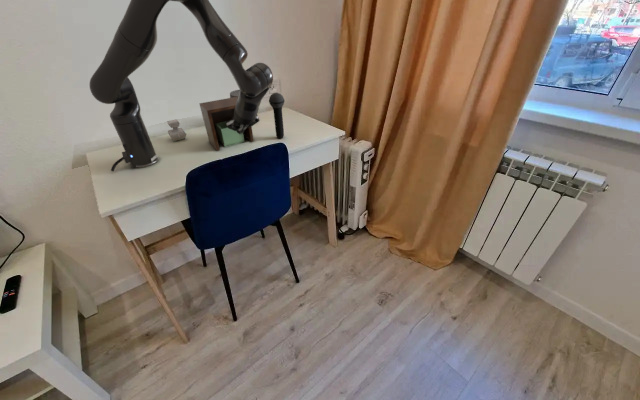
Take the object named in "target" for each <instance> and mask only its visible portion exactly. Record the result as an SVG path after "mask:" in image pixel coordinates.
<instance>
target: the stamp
mask: <svg viewBox="0 0 640 400" xmlns="http://www.w3.org/2000/svg"><path fill="white" fill-rule="evenodd" d="M166 123H167V125H168V126H169V127H170V128H171V129H168V130H167V134H168V136H169V137H170V139H171V140H173V142H176V141H180V140H184V139H186V136H187V133H186V131H185V130H184V129H183V127H180V125H181V123H180V122H179V120H178V119H171V120H167V121H166Z"/></svg>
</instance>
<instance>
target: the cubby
mask: <svg viewBox="0 0 640 400" xmlns="http://www.w3.org/2000/svg"><path fill="white" fill-rule="evenodd" d="M237 99H238V97H233V98H230V97H227V98H222V99H217V100H216V99H215V100H211V101H210V100H209V101H206V102H200V103H199V108H200V111H201V112H200V113H201V116H202V119H203V123H204V127H205V131H206V135H207V138H208V142H209V144H211V146H212V147H213V148H214V149H215V150H216V152H219V151H220V150H221V149H220V146H219V142H220V141H219V138H218V133H217V129H216V125H215V124H216V123H220V122H225V121H229V120H232V118H233V117H234V110H235V106H236V102H237ZM243 136H244V138H246V139H247V140H248V141H250V142H251V143H253V142H254V141H255V140H254V133H253V126H251V127H250V128H248V127H247V128H246V129H245V131H244V132H243ZM218 141H219V142H218Z"/></svg>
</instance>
